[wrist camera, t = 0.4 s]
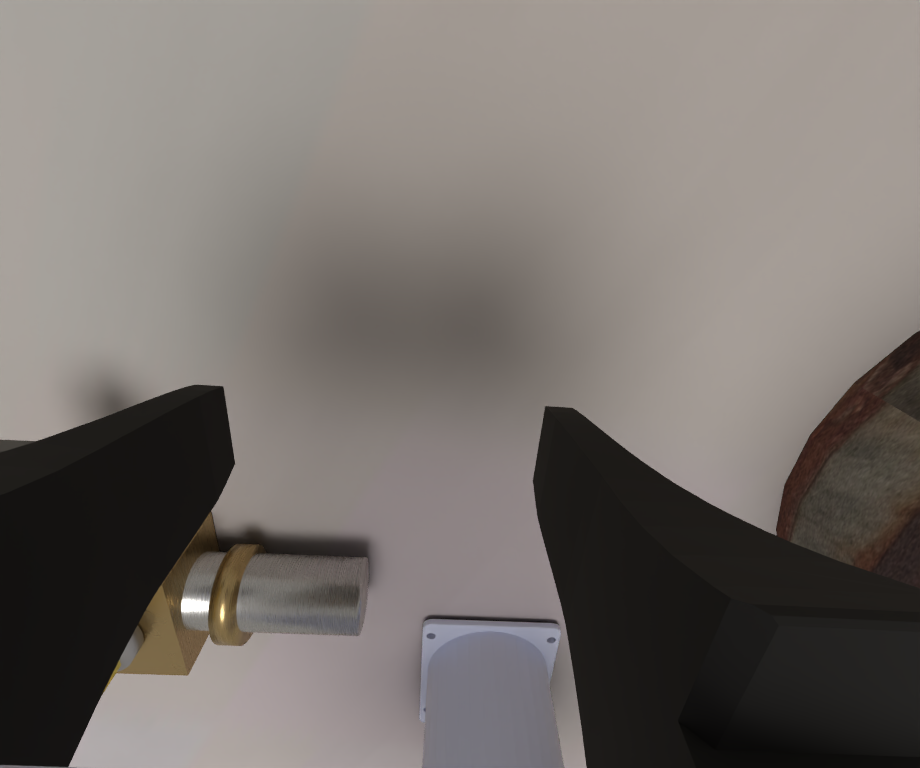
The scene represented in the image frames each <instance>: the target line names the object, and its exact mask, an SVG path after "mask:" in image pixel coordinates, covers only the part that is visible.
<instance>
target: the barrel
mask: <svg viewBox="0 0 920 768" xmlns="http://www.w3.org/2000/svg"><path fill="white" fill-rule="evenodd" d="M776 531H777V536H778V537H780V538H782V539H785V540H787V541H789V542H792V543H794V544H797V545H799V546H802V547H804V548H807V549H809V550H812V551H814V552H817V553H819V554H822V555H824V556H827V557H830V558H832V559H835V560H838V561H840V562H843V563H846V564H849V565H852V566H855V567H858V568H861V569H864V570H867V571H870V572H873V573H876V574H879V575H882V576H885V577H888V578H891V579H894V580H897V581H900V582H903V583H906V584H909V585H912V586H915V587H918V588H920V331H919V332H917V333H915V334H914V335H913V336H911V337H910V338H909V339H908V340H906V341H905V342H904V343H903V344H902V345H900V346H899V347H898V348H897V349H895V350H894V351H893V352H892V353H890V354H889V355H888V356H887V357H886V358H884V359H883V360H882V361H881V362H879V363H878V364H877V365H876V366H875V367H873V368H872V369H871V370H870V371H868V372H867V373H866V374H865V375H863V376H862V377H861V378H860V379H859V380H857V381H856V382H855V383H854V384H853V385H852V386H851V387H850V389H849V390H848V391H847V392H846V393H845V395H844V396H843V397H842V398H841V399H840V400H839V402H838V403H837V404H836V405H835V406H834V408H833V409H832V410H831V411H830V412H829V413H828V415H827V416H826V417H825V418H824V419H823V421H822V422H821V423H820V424H819V425H818V427H817V428H816V429H815V430H814V431H813V432H812V434H811V435H810V437H809V439H808V441H807V443H806V445H805V446H804V448H803V450H802V452H801V454H800V456H799V458H798V460H797V462H796V464H795V466H794V468H793V470H792V472H791V474H790V476H789V477H788V479H787V481H786V483H785V486H784V491H783V497H782V502H781V507H780V512H779V517H778V523H777V528H776Z"/></svg>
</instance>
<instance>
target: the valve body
mask: <svg viewBox="0 0 920 768" xmlns="http://www.w3.org/2000/svg"><path fill="white" fill-rule="evenodd" d="M368 583H369V562H368V558H367V557H342V556H317V555H291V554H266V550H265V548H264V547H263V546H262V545H260V544H236V545H234V546H233V547H231V548H230V550H229V551H228V552H219V547H218V543H217V538H216V533H215V528H214V523H213V519H212V514H211V512H210V513H209V515H208V516H207V518H206V519H205V521H204V522H203V524H202V525H201V527H200V528H199V530H198V531H197V533H196V534H195V536H194V537H193V539H192V540H191V542H190V543H189V545H188V546H187V547H186V549H185V550H184V552H183V553H182V555H181V556H180V558H179V559H178V561H177V562H176V564H175V565H174V567H173V568H172V570H171V571H170V573H169V574H168V575H167V577H166V578H165V580H164V581H163V583H162V584H161V586H160V587H159V589H158V591H157V592H156V594H155V596H154V597H153V599H152V600H151V602H150V604H149V605H148V607H147V609H146V611H145V612H144V614H143V616H142V618H141V620H140V622H139V624H138V626H139V628H140V629H141V631H142V633H143V637H144V641H143V645H142V647H141V648H140V650H139V651H138V653H137V655H136V656H135V658H134V659H133V661H132V662H131V664H130V665H129V666H128V667H127V668H125V669H123V670H121V671H118V672H117V673H125V674H157V675H189V673H190V671H191V669H192V667H193V665H194V663H195V661H196V659H197V657H198V655H199V653H200V651H201V649H202V647H203V645H204V643H205V641H206V639H207V637H208V635H209V634H210V637H211V640H212V641H213V643H214V644H216V645H230V646H242V645H244V644H245V643H246V642H247V641H248V640H249V639H250V637H251V636H252V634H253V632H255V633H284V634H314V635H343V636H359V635H360V633H361V631H362V627H363V623H364V618H365V612H366V604H367V596H368Z"/></svg>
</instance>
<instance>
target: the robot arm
mask: <svg viewBox="0 0 920 768" xmlns="http://www.w3.org/2000/svg"><path fill="white" fill-rule="evenodd" d="M234 465H235V460H234V454H233V447H232V440H231V434H230V427H229V421H228V414H227V408H226V401H225V394H224V388H223V386H208V385H192V386H188V387H184V388H181V389H178V390H175V391H172V392H169V393H166V394H164V395H161V396H158V397H155V398H153V399H150V400H148V401H145V402H142V403H140V404H137V405H135V406H132V407H129V408H127V409H124V410H122V411H119V412H117V413H114V414H111V415H109V416H106V417H104V418H101V419H98V420H95V421H93V422H90V423H87V424H84V425H81V426H79V427H76V428H73V429H70V430H67V431H65V432H62V433H59V434H56V435H53V436H51V437H48V438H45V439H42V440H39V441H36V442H33V443H30V444H26V445H23V446H20V447H17V448H13V449H10V450H7V451H3V452H0V768H75V767H68V766H69V764H70V762H71V760H72V758H73V756H74V753H75V751H76V749H77V747H78V745H79V742H80V740H81V738H82V736H83V734H84V732H85V729H86V727H87V725H88V723H89V721H90V719H91V716H92V714H93V712H94V710H95V708H96V706H97V704H98V702H99V700H100V698H101V696H102V694H103V692H104V690H105V688H106V686H107V684H108V682H109V680H110V678H111V676H112V674H113V672H114V670H115V668H116V666H117V664H118V662H119V660H120V658H121V656H122V654H123V652H124V650H125V648H126V646H127V644H128V642H129V640H130V639H131V637H132V635H133V633H134V631H135V629H136V627H137V625H138V624H139V622H140V620H141V618H142V616H143V614H144V612H145V611H146V609H147V607H148V605H149V604H150V602H151V600H152V599H153V597H154V596H155V594H156V592H157V591H158V589H159V587H160V586H161V584H162V583H163V581H164V580H165V578H166V577H167V575H168V574H169V573H170V571H171V570H172V568H173V567H174V565H175V564H176V562H177V561H178V559H179V558H180V556H181V555H182V553H183V552H184V550H185V549H186V547H187V546H188V545H189V543H190V542H191V540H192V539H193V537H194V536H195V534H196V533H197V531H198V530H199V528H200V527H201V525H202V524H203V522H204V521H205V519H206V518H207V516H208V515H209V513H210V512H211V510H212V509H213V507H214V505H215V504H216V502H217V501H218V499H219V497H220V495H221V493H222V491H223V489H224V487H225V485H226V483H227V480H228V478H229V476H230V474H231V471H232V469H233V467H234ZM533 484H534V493H535V501H536V509H537V516H538V521H539V525H540V528H541V532H542V536H543V540H544V543H545V547H546V551H547V555H548V558H549V562H550V565H551V569H552V573H553V576H554V580H555V584H556V587H557V591H558V595H559V598H560V602H561V606H562V610H563V615H564V619H565V624H566V629H567V635H568V641H569V647H570V653H571V659H572V666H573V672H574V678H575V685H576V692H577V699H578V706H579V713H580V719H581V726H582V734H583V742H584V750H585V757H586V765H587V768H920V588H918V587H915V586H912V585H909V584H906V583H903V582H900V581H897V580H894V579H891V578H888V577H885V576H882V575H879V574H876V573H873V572H870V571H867V570H864V569H861V568H858V567H855V566H852V565H849V564H846V563H843V562H840V561H838V560H835V559H832V558H830V557H827V556H824V555H822V554H819V553H817V552H814V551H812V550H809V549H807V548H804V547H802V546H799V545H797V544H794V543H792V542H789V541H787V540H785V539H782V538H780V537H778V536H775V535H773V534H771V533H768V532H766V531H764V530H762V529H760V528H758V527H755V526H753V525H751V524H749V523H747V522H745V521H743V520H741V519H739V518H737V517H735V516H733V515H731V514H728V513H726V512H725V511H723V510H721V509H719V508H717V507H715V506H713V505H711V504H709V503H708V502H706V501H704V500H702V499H701V498H699V497H697V496H695V495H694V494H692V493H690V492H688V491H687V490H685V489H683V488H682V487H680V486H678V485H677V484H675V483H673V482H672V481H670V480H669V479H667V478H666V477H664V476H663V475H661V474H660V473H658V472H657V471H655V470H654V469H652V468H651V467H649V466H648V465H647V464H645V463H644V462H642V461H641V460H639V459H638V458H637V457H635V456H634V455H633V454H631V453H630V452H629V451H627V450H626V449H625V448H623V447H622V446H621V445H620V444H618V443H617V442H616V441H614V440H613V439H612V438H611V437H609V436H608V435H607V434H606V433H604V432H603V431H602V430H601V429H599V428H598V427H597V426H596V425H594V424H593V423H592V422H591V421H589V420H588V419H587V418H586V417H584V416H583V415H582V414H580V413H579V412H578V411H576V410H575V409H573V408H565V407H549V406H545V412H544V418H543V424H542V430H541V436H540V442H539V448H538V454H537V460H536V466H535V472H534V477H533ZM560 636H561V631H560V627H559V625H557V624H555V623H535V622H506V621H478V620H449V619H428V620H426V621H425V622H424V623H423V634H422V660H421V686H420V712H419V719H420V721H421V722H423V723H425V729H424V747H423V765H422V768H564V764H563V758H562V752H561V746H560V741H559V735H558V729H557V723H556V718H555V712H554V706H553V700H552V695H551V689H550V681H551V677H552V672H553V668H554V663H555V659H556V654H557V650H558V645H559V641H560Z"/></svg>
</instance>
